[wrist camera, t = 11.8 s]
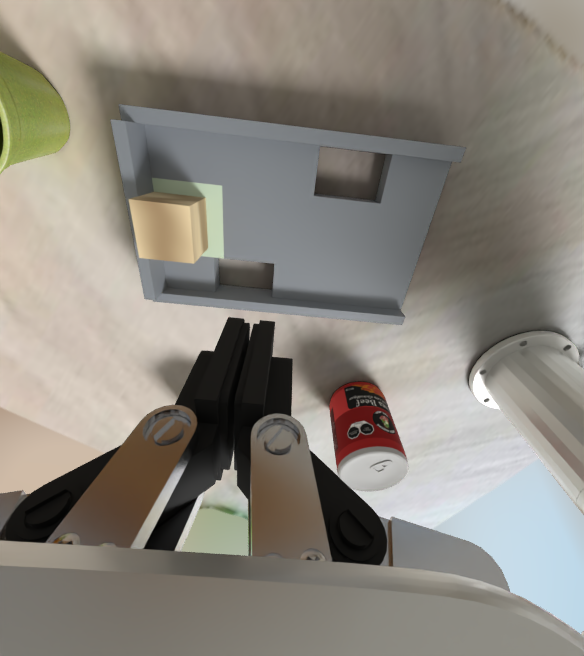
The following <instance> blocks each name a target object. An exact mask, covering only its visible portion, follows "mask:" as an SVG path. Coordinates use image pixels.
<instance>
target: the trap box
mask: <svg viewBox="0 0 584 656" xmlns="http://www.w3.org/2000/svg"><path fill="white" fill-rule="evenodd" d="M119 109H120V115H121V120H113V119H110V120H111V125H112V130H113V135H114V141H115V146H116V151H117V156H118V162H119V167H120V172H121V177H122V183H123V188H124V193H125V198H126V204H127V209H128V214H129V219H130V225H131V230H132V235H133V240H134V246H135V251H136V256H137V261H138V267H139V272H140V277H141V282H142V288H143V293H144V298H145V299H149V300H153V301H154V302H165V303H175V304H186V305H196V306H206V307H217V308H227V309H238V310H248V311H259V312H269V313H280V314H290V315H301V316H311V317H322V318H332V319H343V320H353V321H364V322H374V323H385V324H395V325H402V324H403V322H404V319H405V316H404V315H403V313H402V311H401V308H402V305H403V302H404V299H405V296H406V293H407V290H408V287H409V285H410V282H411V279H412V276H413V273H414V270H415V267H416V264H417V261H418V258H419V256H420V253H421V250H422V247H423V244H424V241H425V238H426V235H427V232H428V230H429V227H430V224H431V221H432V218H433V215H434V212H435V209H436V206H437V203H438V201H439V198H440V195H441V192H442V189H443V186H444V183H445V180H446V177H447V175H448V172H449V169H450V166H451V163H452V162H461V160H462V158H463V155H464V152H465V149H466V147H459V146H451V145H443V144H435V143H427V142H419V141H411V140H403V139H395V138H387V137H379V136H371V135H363V134H355V133H347V132H339V131H330V130H322V129H314V128H306V127H298V126H290V125H282V124H274V123H266V122H258V121H250V120H242V119H234V118H226V117H218V116H210V115H202V114H194V113H186V112H178V111H170V110H162V109H154V108H145V107H137V106H129V105H121V104H119ZM320 146H322V147H330V148H339V149H347V150H355V151H363V152H372V153H380V154H386V157H385V161H384V165H383V170H382V174H381V178H380V182H379V187H378V191H377V195H376V199H375V200H368V199H359V198H350V197H342V196H333V195H324V194H315V193H314V189H315V182H316V174H317V166H318V159H319V151H320ZM151 192H161V193H170V194H178V195H187V196H196V197H204V198H206V214H207V233H208V249H207V250H206V251H205V252H204V253H203V254H202V255H201V257H200V258H199V259H198V260H197V261H196V262H195V263H194V264H192V263H183V262H173V261H164V260H154V259H145V258H139V254H138V248H137V243H136V237H135V232H134V226H133V221H132V215H131V210H130V204H129V199H131V198H134V197H138V196H141V195H144V194H148V193H151ZM219 258H224V259H234V260H243V261H253V262H263V263H273V264H274V277H273V290H270V289H260V288H250V287H240V286H230V285H220V280H219Z"/></svg>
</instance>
